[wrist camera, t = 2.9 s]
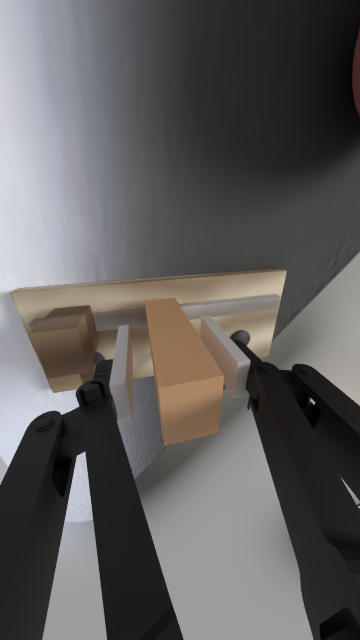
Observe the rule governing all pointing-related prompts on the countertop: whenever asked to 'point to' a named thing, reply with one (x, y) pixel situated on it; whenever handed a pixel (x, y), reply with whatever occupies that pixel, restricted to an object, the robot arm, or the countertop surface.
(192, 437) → the orange wooden block
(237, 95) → the countertop surface
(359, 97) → the balloon
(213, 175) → the countertop surface
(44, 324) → the wooden slotted board
